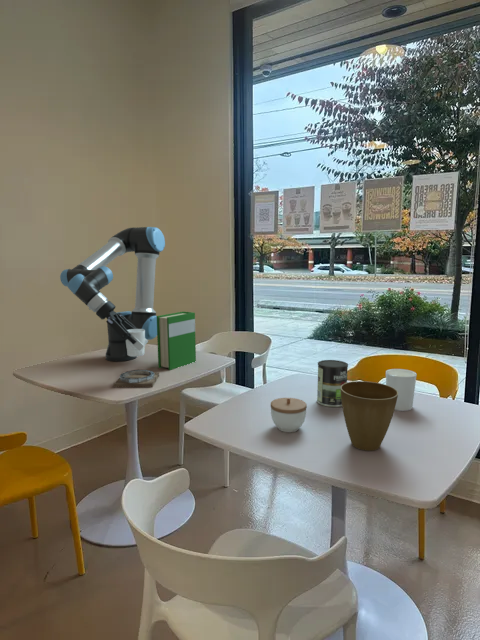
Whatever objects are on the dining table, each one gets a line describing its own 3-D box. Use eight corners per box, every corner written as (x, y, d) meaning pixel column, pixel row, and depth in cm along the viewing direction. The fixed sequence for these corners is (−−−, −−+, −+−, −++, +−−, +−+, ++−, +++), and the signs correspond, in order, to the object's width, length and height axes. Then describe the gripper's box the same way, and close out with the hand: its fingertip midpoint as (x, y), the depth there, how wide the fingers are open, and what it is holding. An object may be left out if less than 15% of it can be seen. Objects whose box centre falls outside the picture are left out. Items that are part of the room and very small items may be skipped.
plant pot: (339, 455, 112) (341, 396, 109) (337, 432, 126) (339, 379, 124) (399, 460, 109) (403, 400, 107) (390, 435, 124) (393, 382, 121)
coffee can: (352, 403, 150) (354, 364, 148) (331, 409, 144) (332, 368, 142) (331, 395, 158) (332, 358, 156) (310, 400, 153) (311, 362, 151)
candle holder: (417, 405, 148) (419, 371, 146) (410, 414, 140) (412, 378, 138) (388, 399, 153) (390, 367, 151) (380, 408, 145) (382, 373, 143)
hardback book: (170, 370, 193) (168, 317, 189) (158, 367, 197) (156, 316, 193) (195, 361, 207) (194, 312, 203) (184, 359, 211) (183, 311, 207)
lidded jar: (313, 428, 129) (314, 398, 128) (290, 439, 122) (291, 407, 120) (285, 418, 137) (286, 390, 135) (263, 428, 130) (263, 398, 128)
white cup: (148, 352, 178) (147, 328, 176) (142, 357, 170) (141, 332, 169) (129, 352, 179) (128, 328, 177) (123, 356, 171) (121, 332, 169)
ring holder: (123, 376, 184) (123, 369, 183) (159, 376, 184) (158, 369, 183) (114, 387, 169) (113, 380, 168) (152, 387, 169) (152, 379, 168)
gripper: (103, 309, 182) (143, 346, 184) (86, 317, 161) (131, 358, 164) (115, 297, 181) (155, 334, 184) (100, 303, 161) (145, 345, 163)
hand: (144, 345), depth 174 cm, fingers closed on white cup, 8 cm apart
